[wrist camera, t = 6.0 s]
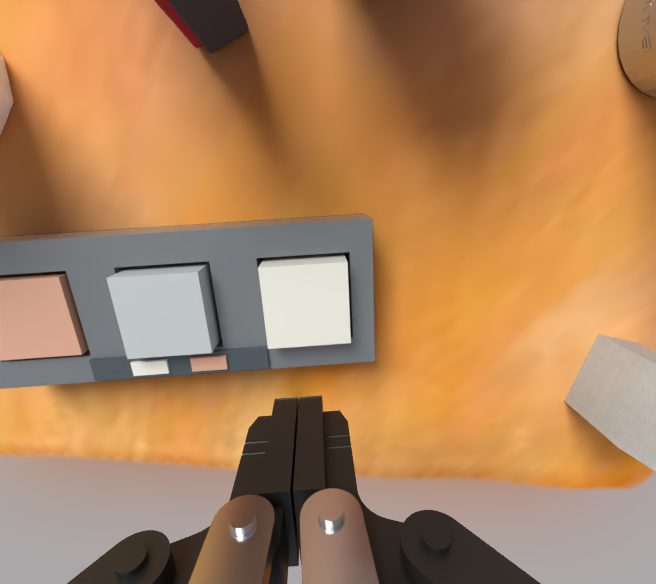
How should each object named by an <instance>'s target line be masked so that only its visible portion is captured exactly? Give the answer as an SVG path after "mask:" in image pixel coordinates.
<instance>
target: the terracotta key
mask: <svg viewBox="0 0 656 584" xmlns="http://www.w3.org/2000/svg"><path fill="white" fill-rule="evenodd" d="M88 350H89V348H88V344H87V341H86V337H85V334H84V331H83V327H82V324H81V321H80V317H79V314H78V310H77V307H76V304H75V300H74V297H73V294H72V290H71V287H70V283H69V280H68V277H67V273H66V271H55V272H40V273H25V274H10V275H0V361H1V360H15V359H29V358H43V357H57V356H71V355H82V354H84V353H85V352H86V351H88Z"/></svg>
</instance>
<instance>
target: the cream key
mask: <svg viewBox="0 0 656 584" xmlns="http://www.w3.org/2000/svg"><path fill="white" fill-rule="evenodd" d="M258 273H259V281H260V289H261V297H262V305H263V314H264V322H265V330H266V338H267V346H268V349H276V348H290V347H303V346H317V345H331V344H345V343H351V333H350V309H349V286H348V262H347V260H346V257H345V255H344V253H329V254H313V255H298V256H283V257H268V258H264V259H263V261H262V262H261V264H260V265H259V267H258Z"/></svg>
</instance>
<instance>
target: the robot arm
mask: <svg viewBox="0 0 656 584" xmlns="http://www.w3.org/2000/svg"><path fill="white" fill-rule="evenodd" d="M618 46H619V55H620V59H621V62H622V65H623V68H624V71H625V73H626V75H627V76H628V78H629V79H630V81H631V82H632V83H633V84H634V85H635V86H636V87H637V88H638V89H639V90H640V91H641V92H643V93H645V94H647V95H649V96H651V97H655V98H656V0H626V2H625V4H624V7H623V11H622V15H621V19H620V23H619V34H618ZM299 549H300V558H301V565H302V584H540V583H539V582H538V581H536V580H535V579H534V578H532V577H531V576H530V575H528V574H527V573H526V572H524V571H523V570H522V569H520V568H519V567H518V566H516V565H515V564H514V563H512V562H511V561H509V560H508V559H507V558H505V557H504V556H503V555H501V554H500V553H499V552H497V551H496V550H495V549H493V548H492V547H491V546H489V545H488V544H486V543H485V542H484V541H483V540H481V539H480V538H479V537H477V536H476V535H475V534H473V533H472V532H471V531H469V530H468V529H466V528H465V527H464V526H463V525H461V524H460V523H458V522H457V521H456V520H455V519H453V518H451V517H450V516H448V515H446V514H444V513H441V512H438V511H433V510H422V511H418V512H415V513H413V514H411V515H410V516H409V517H408V518H407V519H406V520H405V521H404V523H402V522H398V521H394V520H390V519H386V518H383V517H380V516H378V515H376V514H375V513H373V512H371V511H370V510H369V509H368V508H367V507H366V506H365V505H364V504H363V502H362V501H361V499H360V497H359V495H358V491H357V485H356V478H355V470H354V463H353V456H352V449H351V442H350V436H349V428H348V421H347V420H346V418H345V417H344V416H343V415H342V413H341V412H340V411H328V412H323V402H322V396H308V397H300V398H299V399H298V397H295V398H281V399H275V401H274V407H273V412H272V416H260V417H258V418H257V419H256V420H255V422H254V423H253V424H252V425H251V426H250V428H249V430H248V434H247V438H246V441H245V445H244V449H243V453H242V456H241V460H240V464H239V468H238V471H237V475H236V479H235V483H234V486H233V490H232V494H231V498H230V501H229V502H228V503H226V504H225V505H224V506H223V507H222V508H221V509H220V510H219V511H218V512H217V514H216V515H215V517H214V519H213V521H212V523H211V526H209V527H208V528H206V529H205V530H203V531H201V532H199V533H197V534H194V535H192V536H189V537H186V538H184V539H181V540H179V541H176V542H173V543H171V544H170V543H169V540H168V538H167V537H166V536H165V535H164V534H163V533H161V532H158V531H154V530H148V531H142V532H139V533H135V534H133V535H131V536H129V537H127V538H125V539H124V540H122V541H121V542H119V543H118V544H117V545H115V546H114V547H113V548H111V549H110V550H109V551H108V552H106V553H105V554H104V555H103V556H101V557H100V558H99V559H98V560H96V561H95V562H94V563H93V564H91V565H90V566H89V567H88V568H86V569H85V570H84V571H83V572H81V573H80V574H79V575H77V576H76V577H75V578H74V579H72V580H71V581H70V582H69V583H68V584H287V578H288V567H289V566H298V565H299Z"/></svg>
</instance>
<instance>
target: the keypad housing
mask: <svg viewBox="0 0 656 584" xmlns="http://www.w3.org/2000/svg"><path fill="white" fill-rule="evenodd" d="M329 253H344V255H345V257H346V260H347V262H348V286H349V309H350V333H351V343H345V344H331V345H317V346H303V347H290V348H276V349H268V346H267V338H266V330H265V322H264V314H263V305H262V297H261V289H260V281H259V273H258V267H259V265H260V264H261V262H262V261H263V259H264V258H268V257H283V256H298V255H313V254H329ZM208 261H209V264H210V270H211V276H212V282H213V288H214V294H215V300H216V306H217V312H218V318H219V325H220V331H221V339H220V341H219V342H218V344H217V346H216V347H215V349H214V351H213V352H212V353H206V354H192V355H178V356H164V357H151V358H137V359H127V356H126V352H125V348H124V344H123V340H122V336H121V333H120V329H119V325H118V321H117V317H116V313H115V310H114V306H113V302H112V298H111V294H110V290H109V287H108V283H107V279H106V278H107V277H110V276H112V275H114V274H116V273H118V272H121V271H123V270H125V269H127V268H129V267H132V266H147V265H162V264H177V263H192V262H208ZM55 271H66V273H67V277H68V280H69V283H70V287H71V290H72V294H73V297H74V300H75V304H76V307H77V310H78V314H79V317H80V321H81V324H82V327H83V331H84V334H85V337H86V341H87V344H88V348H89V350H88V351H86V352H85V353H84V354H82V355H71V356H57V357H43V358H29V359H15V360H1V361H0V389H3V388H17V387H30V386H44V385H58V384H71V383H85V382H99V381H112V380H126V379H140V378H153V377H167V376H181V375H194V374H208V373H222V372H235V371H249V370H263V369H276V368H290V367H304V366H317V365H331V364H345V363H358V362H372V361H375V331H374V280H373V229H372V218H370V217H368V216H366V215H365V214H351V215H335V216H320V217H304V218H288V219H273V220H257V221H241V222H225V223H210V224H194V225H178V226H163V227H147V228H131V229H116V230H100V231H84V232H68V233H53V234H37V235H21V236H6V237H0V275H10V274H25V273H40V272H55Z"/></svg>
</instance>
